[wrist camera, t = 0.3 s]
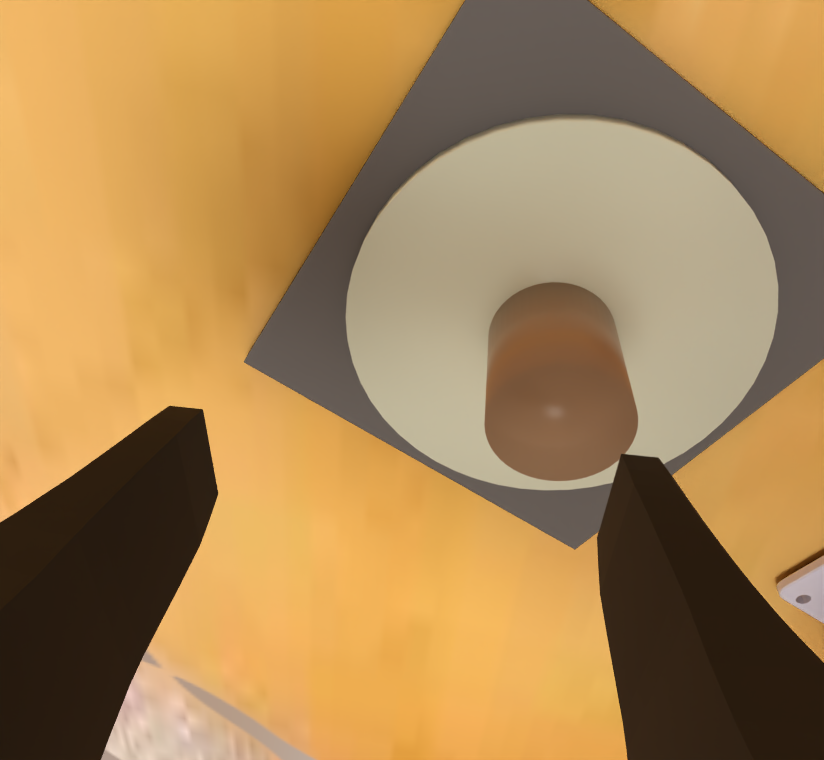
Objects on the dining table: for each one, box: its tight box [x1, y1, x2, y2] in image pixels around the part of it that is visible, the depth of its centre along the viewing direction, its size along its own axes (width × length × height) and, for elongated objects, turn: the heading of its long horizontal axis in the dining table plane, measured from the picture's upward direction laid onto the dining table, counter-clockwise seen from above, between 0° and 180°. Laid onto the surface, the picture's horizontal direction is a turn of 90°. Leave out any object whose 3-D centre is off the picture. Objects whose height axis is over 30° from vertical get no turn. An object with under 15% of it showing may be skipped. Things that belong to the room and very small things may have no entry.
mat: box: [244, 0, 824, 549], centre depth 20 cm, size 14×14×1 cm
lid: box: [346, 114, 778, 490], centre depth 18 cm, size 12×12×5 cm
